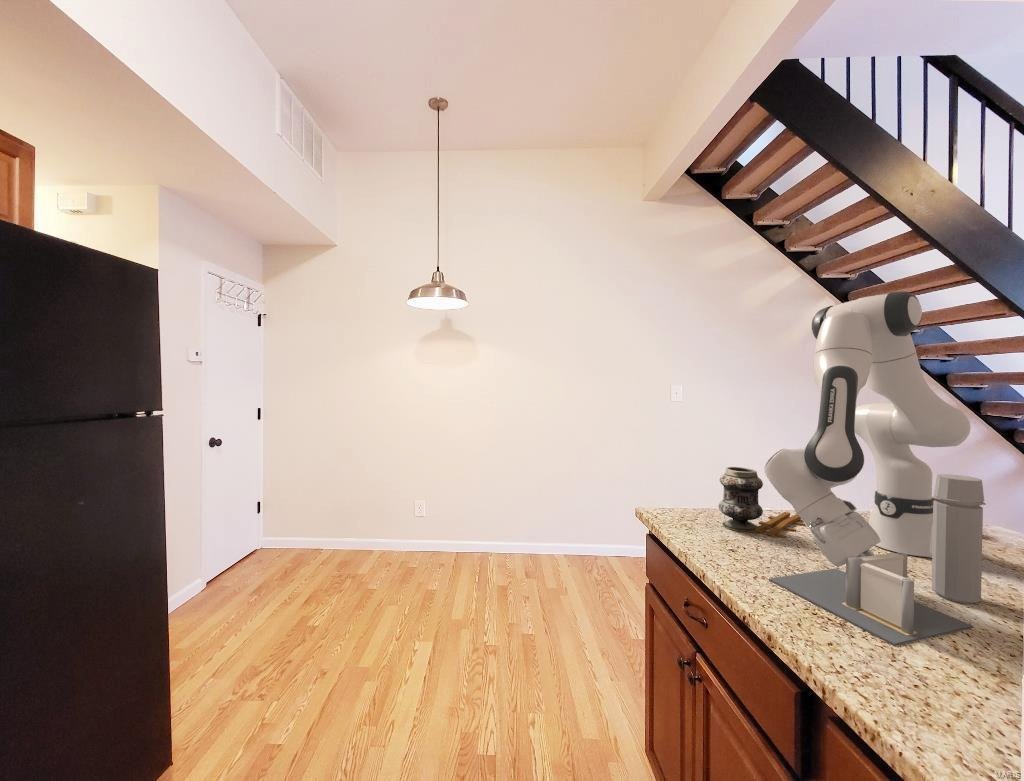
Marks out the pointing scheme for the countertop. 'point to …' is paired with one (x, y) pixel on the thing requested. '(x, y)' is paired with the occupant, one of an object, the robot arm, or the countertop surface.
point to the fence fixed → (880, 593)
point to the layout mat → (831, 596)
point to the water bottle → (957, 538)
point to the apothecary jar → (740, 498)
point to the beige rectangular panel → (889, 562)
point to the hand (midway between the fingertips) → (879, 575)
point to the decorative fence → (780, 526)
